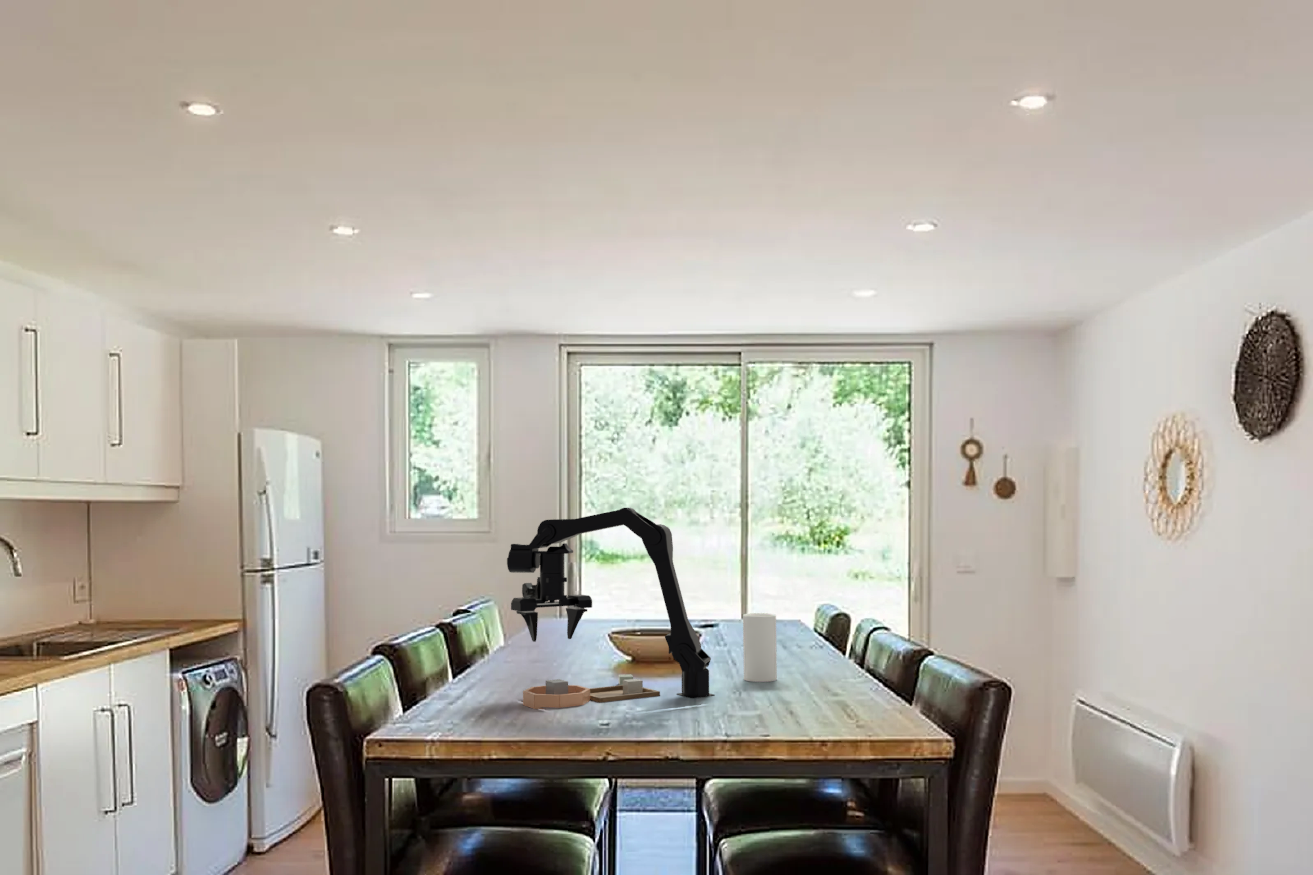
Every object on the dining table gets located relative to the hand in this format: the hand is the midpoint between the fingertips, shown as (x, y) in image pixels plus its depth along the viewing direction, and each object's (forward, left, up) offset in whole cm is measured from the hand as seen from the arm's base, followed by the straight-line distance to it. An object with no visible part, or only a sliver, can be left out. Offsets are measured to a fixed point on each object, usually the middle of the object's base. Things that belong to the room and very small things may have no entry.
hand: (552, 640), depth 249 cm
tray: (-14, -9, -12) cm, 21 cm away
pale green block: (-3, -18, -9) cm, 21 cm away
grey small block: (-15, -13, -12) cm, 23 cm away
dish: (-14, +6, -12) cm, 19 cm away
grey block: (-14, +6, -12) cm, 19 cm away
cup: (-12, -52, -12) cm, 55 cm away
